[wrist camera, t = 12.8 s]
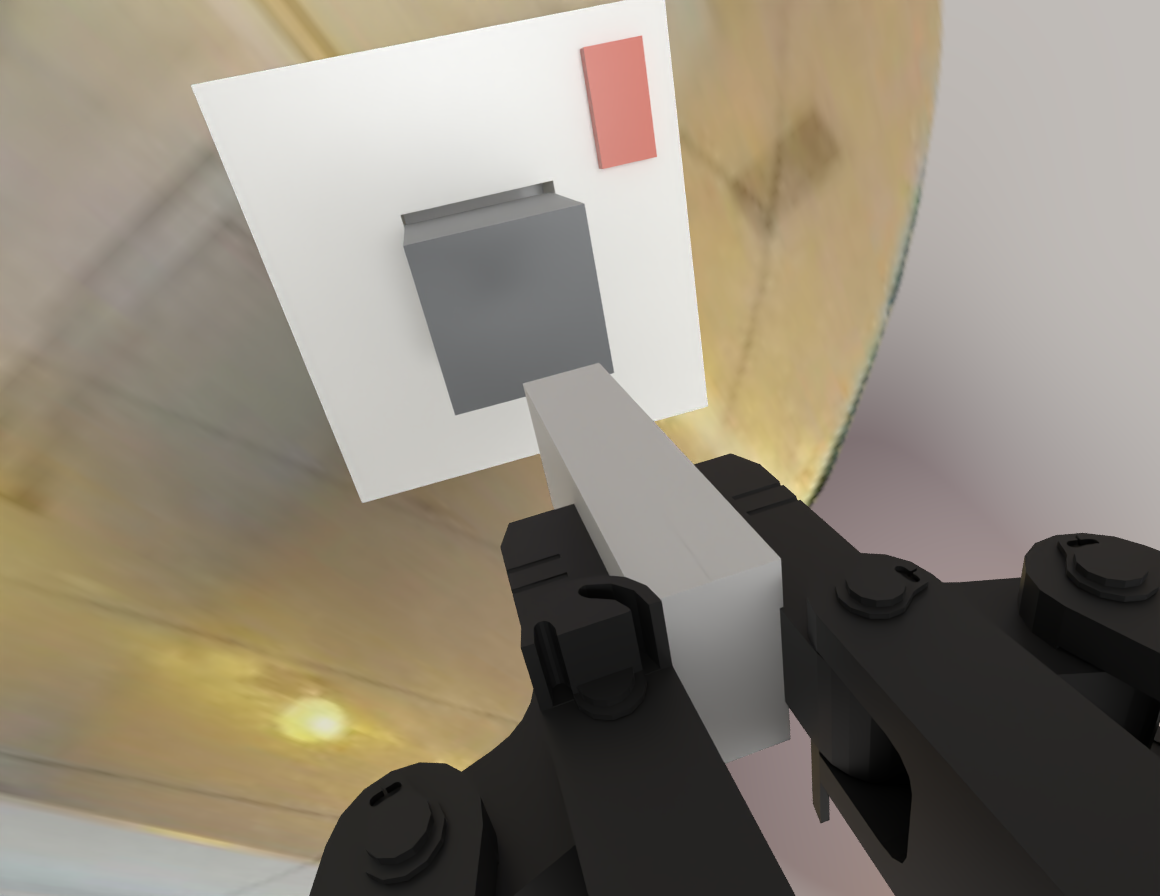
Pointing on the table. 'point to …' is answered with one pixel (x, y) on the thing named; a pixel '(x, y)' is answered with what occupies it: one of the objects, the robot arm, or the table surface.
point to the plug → (508, 296)
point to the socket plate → (456, 184)
